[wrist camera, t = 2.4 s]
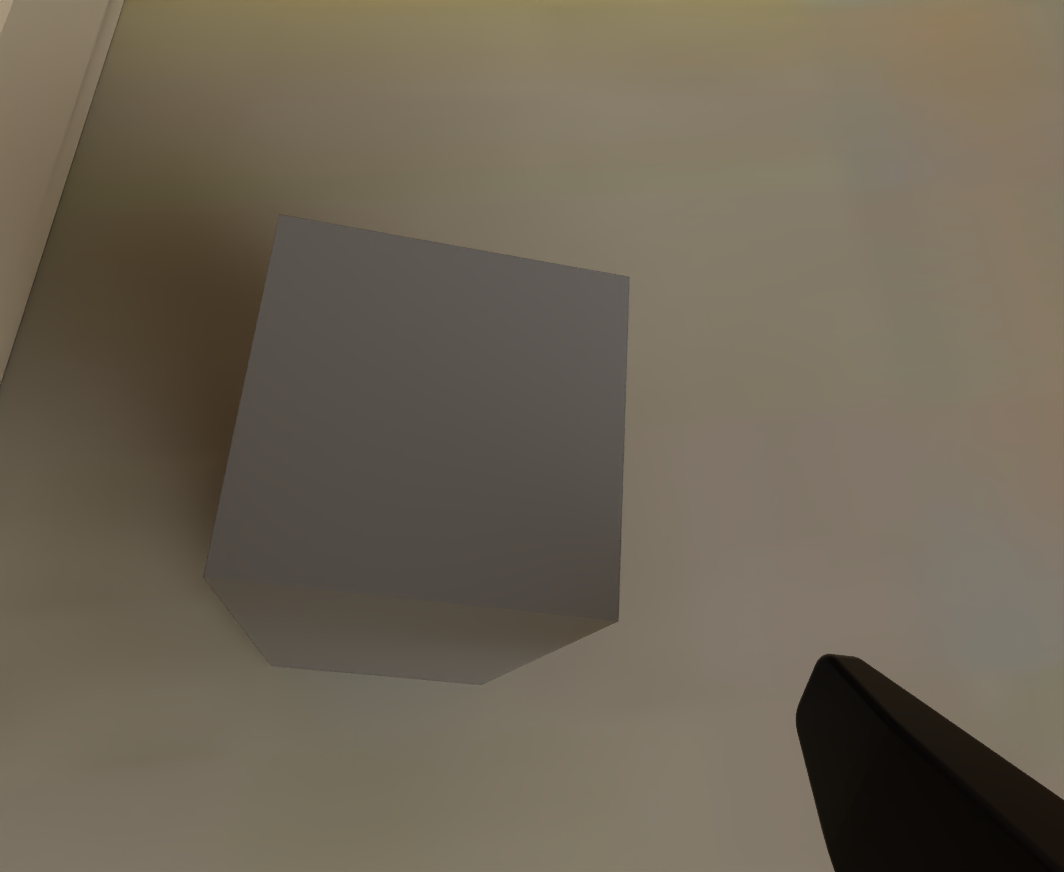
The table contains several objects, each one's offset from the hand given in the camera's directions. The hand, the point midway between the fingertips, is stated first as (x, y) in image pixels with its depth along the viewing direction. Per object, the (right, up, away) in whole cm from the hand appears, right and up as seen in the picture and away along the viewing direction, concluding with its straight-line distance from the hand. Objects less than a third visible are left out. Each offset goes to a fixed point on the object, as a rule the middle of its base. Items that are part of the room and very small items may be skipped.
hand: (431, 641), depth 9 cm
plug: (-2, -1, +10) cm, 10 cm away
